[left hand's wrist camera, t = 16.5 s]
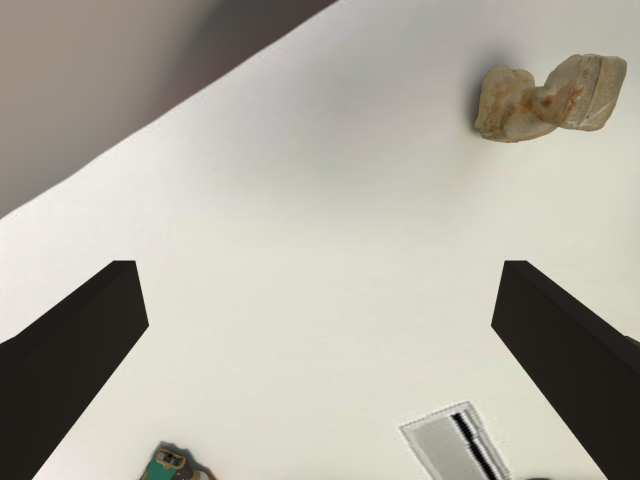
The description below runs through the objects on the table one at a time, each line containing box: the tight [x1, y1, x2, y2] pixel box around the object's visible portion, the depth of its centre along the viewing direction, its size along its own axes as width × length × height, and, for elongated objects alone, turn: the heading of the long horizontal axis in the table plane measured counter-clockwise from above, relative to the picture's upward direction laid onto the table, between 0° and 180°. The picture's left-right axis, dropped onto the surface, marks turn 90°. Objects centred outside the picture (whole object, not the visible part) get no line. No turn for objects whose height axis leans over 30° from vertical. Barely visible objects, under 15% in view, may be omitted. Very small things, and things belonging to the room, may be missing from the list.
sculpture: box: [474, 54, 627, 143], centre depth 31 cm, size 6×7×15 cm
